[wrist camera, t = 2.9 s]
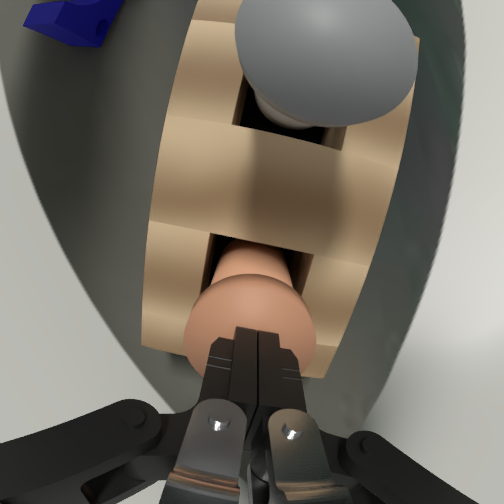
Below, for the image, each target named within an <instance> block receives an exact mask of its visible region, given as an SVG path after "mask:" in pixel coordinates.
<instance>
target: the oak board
mask: <svg viewBox="0 0 504 504" xmlns="http://www.w3.org/2000/svg"><path fill="white" fill-rule="evenodd" d="M242 1H243V0H198V2H197V5H196V8H195V11H194V14H193V17H192V20H191V23H190V27H189V30H188V33H187V36H186V40H185V43H184V46H183V50H182V53H181V57H180V61H179V64H178V68H177V72H176V76H175V80H174V84H173V88H172V92H171V96H170V101H169V105H168V110H167V114H166V119H165V124H164V129H163V134H162V139H161V144H160V150H159V155H158V161H157V167H156V173H155V180H154V187H153V194H152V201H151V209H150V217H149V226H148V235H147V245H146V256H145V269H144V284H143V304H142V343H141V345H143V346H147V347H150V348H154V349H158V350H162V351H166V352H170V353H174V354H178V355H183V356H186V353H185V349H184V343H183V337H184V330H185V326H186V324H187V321H188V318H189V316H190V313H191V311H192V308H193V305H194V303H195V302H196V300H197V298H198V297H199V296H200V295H201V293H202V292H203V291H204V290H206V289H207V288H208V287H209V286H210V285H211V283H209V279H210V273H211V267H212V262H213V256H214V251H215V245H216V240H217V234H219V235H224V236H229V237H234V238H239V239H243V240H248V241H253V242H258V243H263V244H267V245H272V246H277V247H282V248H286V249H291V250H294V252H293V256H292V259H291V263H290V267H289V274H290V278H291V282H292V286H293V289H294V290H295V291H297V292H298V293H299V294H300V296H301V297H302V298H303V300H304V301H305V303H306V305H307V307H308V309H309V312H310V315H311V319H312V322H313V325H314V329H315V333H316V350H315V353H314V356H313V359H312V361H311V363H310V364H309V366H308V367H307V369H306V370H305V371H304V372H303V373H302V374H301V376H305V377H315V378H324V376H325V374H326V372H327V370H328V367H329V365H330V363H331V361H332V359H333V357H334V354H335V352H336V350H337V348H338V345H339V343H340V341H341V338H342V336H343V334H344V331H345V329H346V327H347V324H348V322H349V319H350V317H351V315H352V312H353V310H354V307H355V304H356V302H357V299H358V297H359V294H360V291H361V289H362V286H363V283H364V281H365V278H366V275H367V272H368V270H369V267H370V264H371V261H372V258H373V255H374V252H375V249H376V246H377V243H378V240H379V237H380V233H381V230H382V227H383V224H384V220H385V217H386V213H387V210H388V206H389V203H390V199H391V196H392V192H393V188H394V184H395V180H396V176H397V172H398V168H399V164H400V160H401V155H402V151H403V146H404V141H405V137H406V132H407V126H408V121H409V116H410V110H411V104H412V98H413V91H414V85H415V81H414V84H413V87H412V88H411V90H410V92H409V94H408V95H407V97H406V98H405V99H404V100H403V101H402V103H401V104H399V105H398V106H397V107H396V108H395V109H394V110H392V111H391V112H389V113H387V114H386V115H384V116H381V117H379V118H377V119H374V120H371V121H367V122H363V123H359V124H355V125H351V126H344V127H330V128H329V127H324V131H323V136H322V140H321V145H318V144H315V143H311V142H307V141H303V140H299V139H295V138H291V137H287V136H283V135H279V134H274V133H270V132H265V131H261V130H256V129H251V128H246V127H241V126H240V122H241V117H242V113H243V108H244V104H245V100H246V96H247V91H248V87H249V82H248V81H247V79H246V77H245V75H244V73H243V71H242V68H241V65H240V61H239V58H238V53H237V48H236V42H235V21H236V16H237V12H238V10H239V7H240V5H241V3H242ZM413 36H414V35H413ZM414 38H415V42H416V46H417V53H418V51H419V40H420V39H419V38H418V37H416V36H414Z"/></svg>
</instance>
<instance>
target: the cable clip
mask: <svg viewBox="0 0 504 504" xmlns="http://www.w3.org/2000/svg"><path fill="white" fill-rule="evenodd" d="M122 2H123V0H71V1H69V2H67V1H57V2H49V3H41V4H35V5H33V6H32V8H31V10H30V12H29V14H28V16H27V18H26V20H25V22H24V24H23V26H24V27H27V28H29V29H32V30H35V31H37V32H40V33H42V34H44V35H47V36H49V37H52V38H54V39H56V40H59V41H61V42H63V43H65V44H68V45H70V46H87V47H101V45H102V42H103V40H104V38H105V36H106V34H107V31H108V29H109V27H110V25H111V23H112V21H113V19H114V17H115V15H116V13H117V11H118V9H119V8H120V6H121V4H122Z"/></svg>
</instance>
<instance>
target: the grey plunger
mask: <svg viewBox="0 0 504 504" xmlns="http://www.w3.org/2000/svg"><path fill="white" fill-rule="evenodd" d="M235 42H236V48H237V53H238V58H239V61H240V65H241V68H242V71H243V73H244V75H245V77H246V79H247V81H248V82H249V84H250V85H251V87H252V88H253V89H254V96H255V100H256V103H257V105H258V107H259V109H260V111H261V112H262V113H263V115H264V116H265V117H266V118H267V119H269V120H270V121H271V122H273V123H274V124H276V125H278V126H281V127H283V128H287V129H293V130H301V129H307V128H310V127H313V126H318V127H329V128H330V127H344V126H351V125H355V124H359V123H363V122H367V121H371V120H374V119H377V118H379V117H381V116H384V115H386V114H387V113H389V112H391V111H392V110H394V109H395V108H396V107H397V106H398V105H399V104H401V103H402V101H403V100H404V99H405V98H406V97H407V95H408V94H409V92H410V90H411V88H412V87H413V84H414V81H415V78H416V74H417V69H418V53H417V46H416V42H415V38H414V36H413V33H412V30H411V28H410V26H409V24H408V22H407V20H406V19H405V17H404V16H403V14H402V13H401V11H400V10H399V9H398V8H397V6H396V5H395V4H394V3H393V2H392V1H391V0H243V1H242V3H241V5H240V7H239V10H238V12H237V16H236V21H235Z"/></svg>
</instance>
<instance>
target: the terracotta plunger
mask: <svg viewBox="0 0 504 504" xmlns="http://www.w3.org/2000/svg"><path fill="white" fill-rule="evenodd" d="M236 326H239V327H245V328H250V329H255V330H257V331H258V330H261V331H267V332H273V333H278V334H279V340H280V348H285V349H291V351H292V352H293V353H294V355H295V356H296V357H297V359H298V363H299V368H300V371H299V372H300V374H302V373H303V372H304V371H305V370H306V369H307V367H308V366H309V364H310V363H311V361H312V359H313V356H314V353H315V350H316V333H315V329H314V325H313V322H312V319H311V315H310V312H309V309H308V307H307V305H306V303H305V301H304V300H303V298H302V297H301V296H300V294H299V293H298V292H297V291H295V290H294V289H293V286H292V282H291V278H290V274H289V270H288V266H287V263H286V259H285V256H284V253H283V252H282V250H281V248H280V247H277V246H272V245H267V244H263V243H258V242H253V241H248V240H243V239H239V238H236V239H234V240H233V241H231V242H230V243H229V244H228V245H227V246H226V247H225V248H224V250H223V251H222V253H221V255H220V258H219V261H218V264H217V267H216V270H215V273H214V276H213V279H212V282H211V285H210V286H209V287H208V288H207V289H206V290H204V291H203V292H202V293H201V295H200V296H199V297H198V298H197V300H196V302H195V303H194V305H193V308H192V311H191V313H190V316H189V318H188V321H187V324H186V326H185V330H184V337H183V343H184V349H185V353H186V356H187V358H188V360H189V362H190V363H191V365H192V366H193V368H194V369H195V370H196V371H197V372H198V373H199V374H200V375H201V376H202V377H203V378H204V374H205V369H206V365H207V360H208V356H209V351H210V347H211V344H212V343H213V342H214V341H215V340H216V339H217V338H218V337H222V338H227V339H232V340H233V337H234V333H235V328H236Z"/></svg>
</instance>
